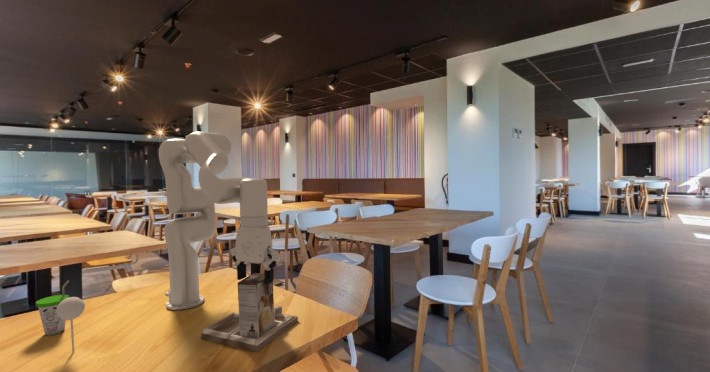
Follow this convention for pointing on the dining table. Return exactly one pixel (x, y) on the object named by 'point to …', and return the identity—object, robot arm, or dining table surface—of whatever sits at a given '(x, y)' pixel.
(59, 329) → the cup
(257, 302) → the coffee box
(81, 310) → the lollipop
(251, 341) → the grey compartment tray
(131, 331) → the dining table surface
